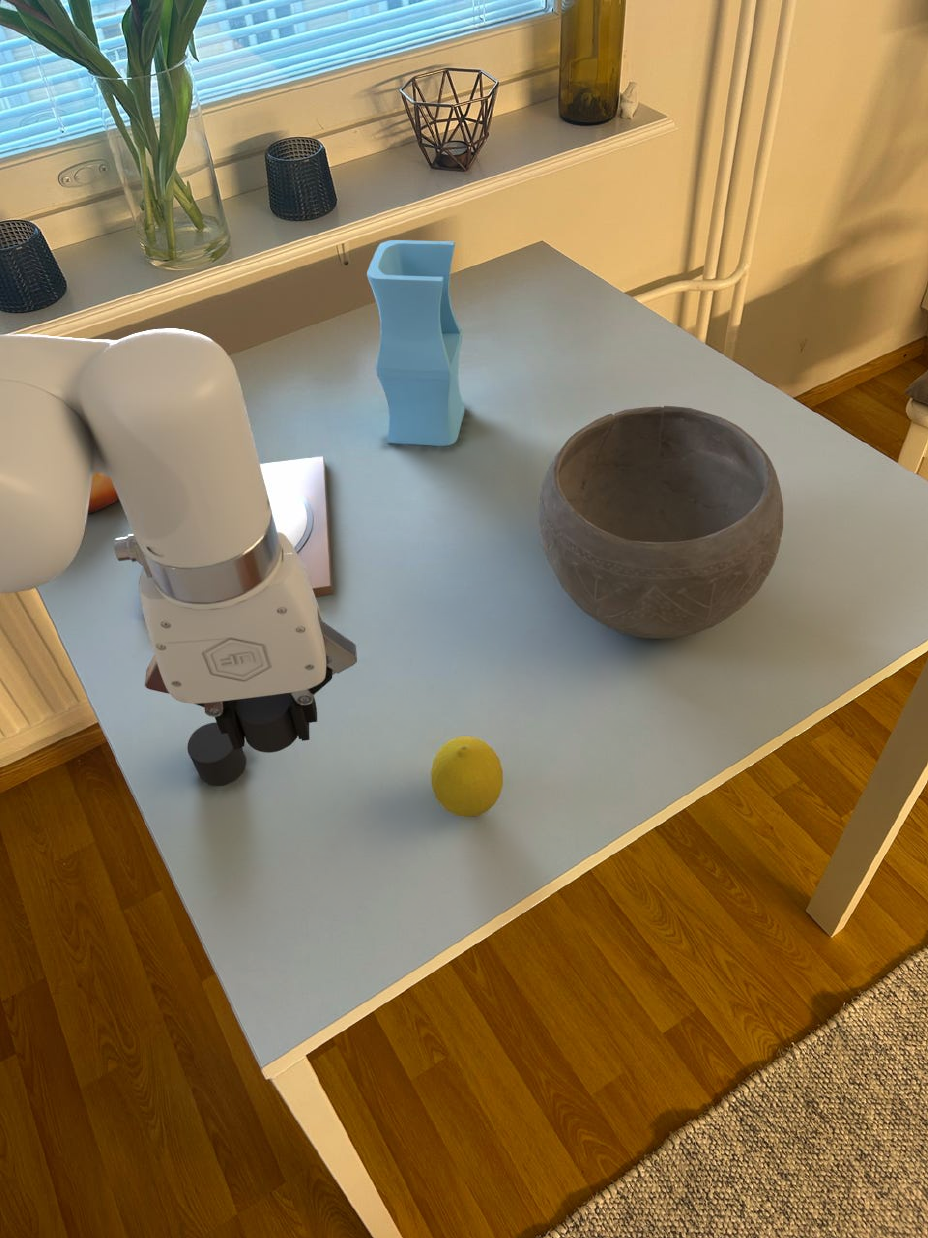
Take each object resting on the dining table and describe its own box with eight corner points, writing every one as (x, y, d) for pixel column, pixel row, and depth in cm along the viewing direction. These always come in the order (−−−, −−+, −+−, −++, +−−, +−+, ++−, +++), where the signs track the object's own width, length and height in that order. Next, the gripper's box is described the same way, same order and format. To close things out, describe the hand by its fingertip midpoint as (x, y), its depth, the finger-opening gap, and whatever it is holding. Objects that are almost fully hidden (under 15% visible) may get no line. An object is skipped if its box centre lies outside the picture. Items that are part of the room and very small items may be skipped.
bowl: (494, 585, 90) (488, 464, 79) (642, 487, 98) (656, 364, 87) (656, 717, 79) (677, 598, 68) (808, 594, 87) (849, 470, 76)
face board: (146, 619, 90) (142, 610, 89) (162, 484, 103) (159, 475, 102) (332, 594, 91) (330, 584, 90) (325, 464, 104) (323, 454, 103)
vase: (455, 446, 105) (442, 281, 89) (387, 442, 106) (363, 278, 91) (466, 404, 110) (456, 240, 95) (401, 401, 111) (380, 238, 96)
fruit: (103, 447, 106) (98, 413, 98) (142, 503, 105) (139, 474, 98) (36, 479, 102) (25, 447, 95) (75, 537, 102) (67, 510, 95)
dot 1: (197, 789, 77) (185, 766, 74) (199, 749, 80) (188, 725, 77) (245, 782, 77) (235, 759, 75) (246, 742, 80) (237, 718, 77)
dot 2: (244, 756, 66) (233, 728, 63) (245, 710, 68) (235, 681, 66) (300, 749, 66) (292, 720, 63) (300, 703, 69) (291, 674, 66)
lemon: (516, 791, 75) (514, 735, 69) (482, 846, 72) (477, 793, 66) (457, 763, 77) (451, 707, 71) (421, 815, 74) (412, 761, 68)
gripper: (52, 611, 50) (150, 788, 64) (361, 574, 51) (392, 757, 65) (73, 518, 55) (159, 701, 69) (354, 486, 56) (384, 673, 70)
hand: (271, 726), depth 67 cm, fingers closed on dot 2, 4 cm apart
